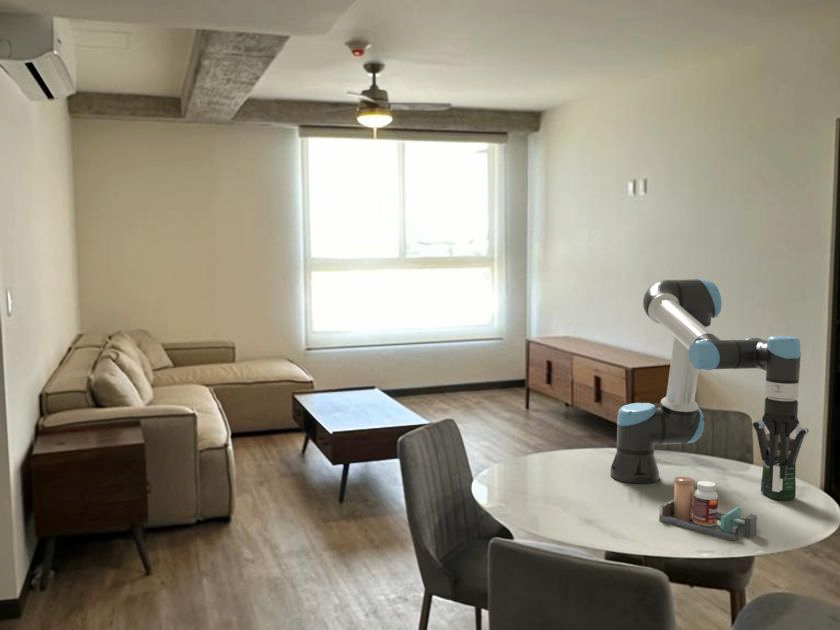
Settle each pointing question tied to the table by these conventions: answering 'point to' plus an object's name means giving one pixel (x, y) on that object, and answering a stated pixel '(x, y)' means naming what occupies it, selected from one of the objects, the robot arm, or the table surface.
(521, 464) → the table surface
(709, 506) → the pill bottle
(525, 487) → the table surface
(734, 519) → the pusher plate
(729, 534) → the grey rail frame
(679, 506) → the tan rounded cylinder
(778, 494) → the coffee jar
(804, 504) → the table surface
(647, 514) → the table surface
